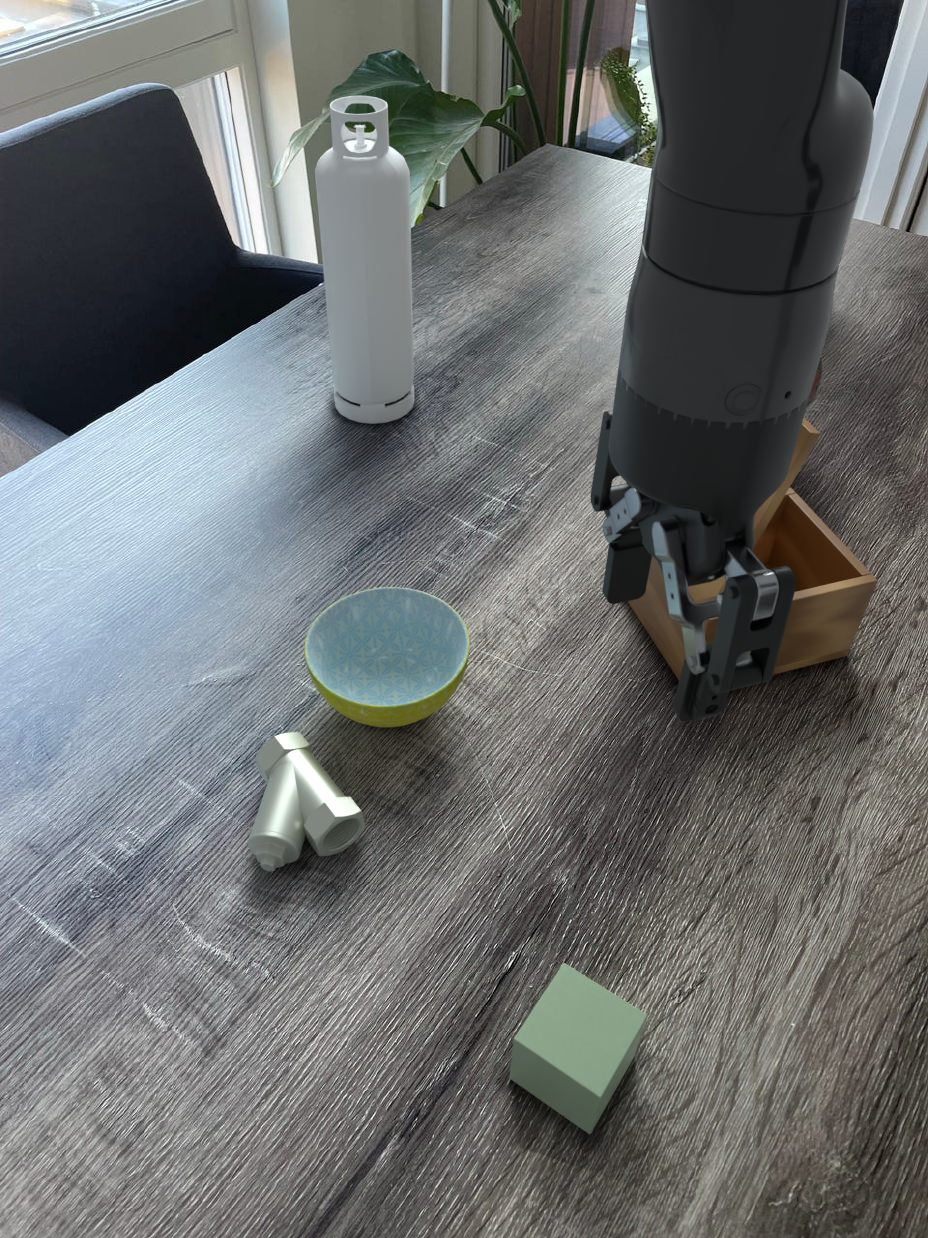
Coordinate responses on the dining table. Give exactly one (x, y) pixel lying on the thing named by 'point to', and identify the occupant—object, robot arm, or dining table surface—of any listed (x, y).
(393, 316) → the bottle
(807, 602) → the chest
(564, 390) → the dining table surface
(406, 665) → the bowl
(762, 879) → the dining table surface
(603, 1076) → the block
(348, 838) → the pipe fitting
